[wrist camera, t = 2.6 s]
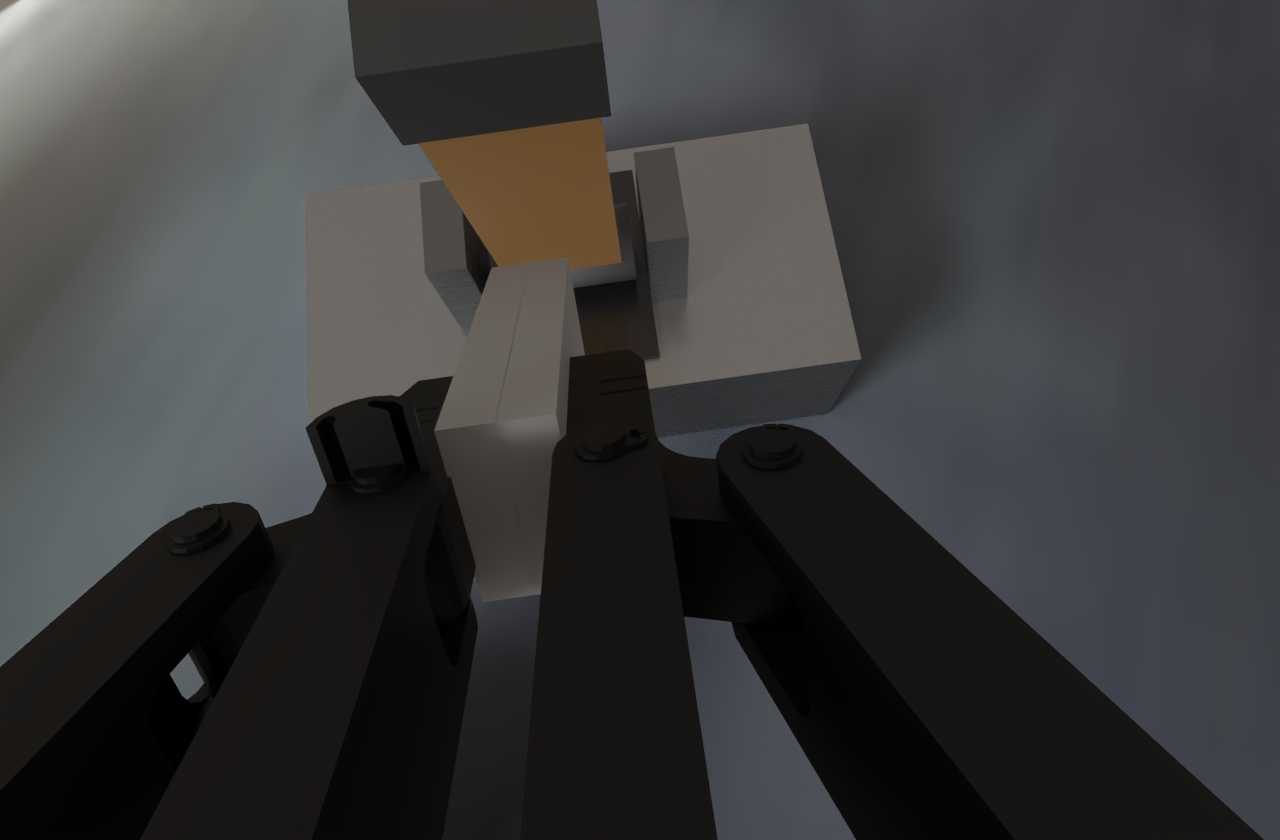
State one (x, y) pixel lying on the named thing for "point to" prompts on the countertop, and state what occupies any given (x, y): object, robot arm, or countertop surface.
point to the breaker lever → (505, 120)
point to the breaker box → (607, 284)
